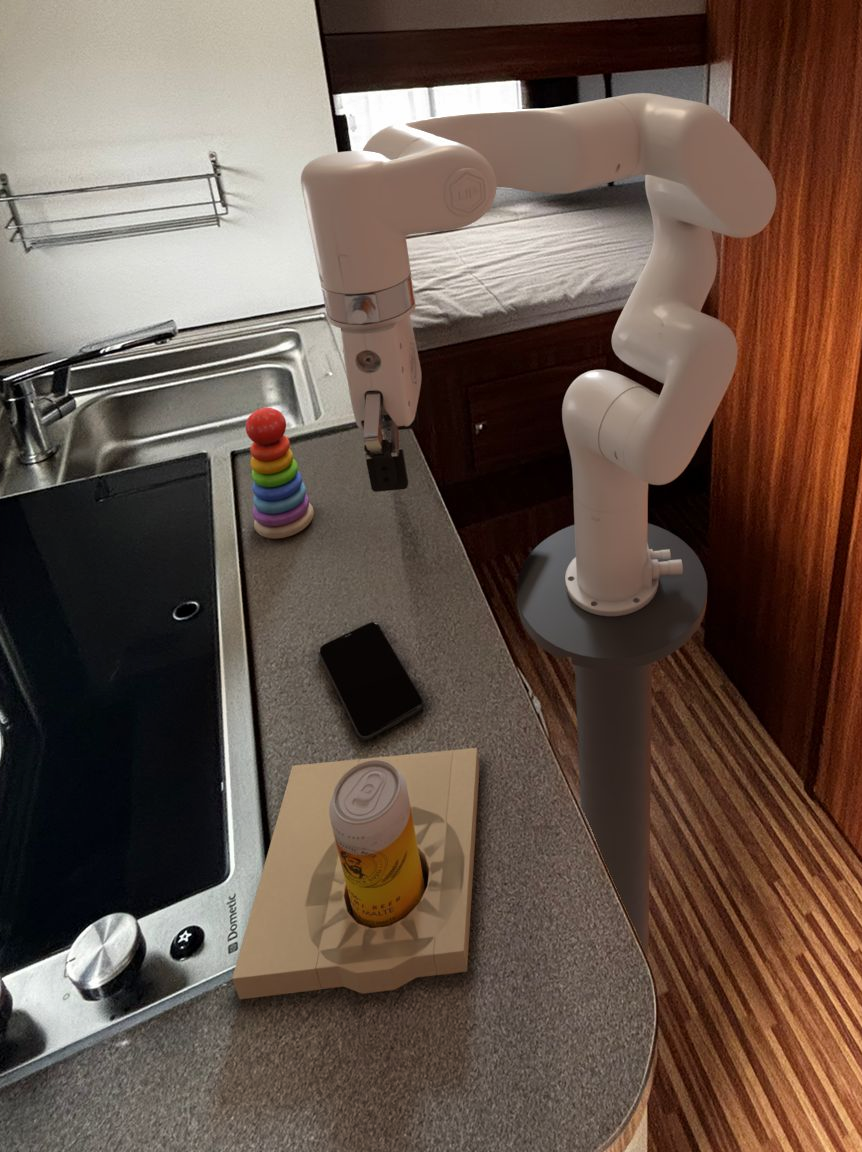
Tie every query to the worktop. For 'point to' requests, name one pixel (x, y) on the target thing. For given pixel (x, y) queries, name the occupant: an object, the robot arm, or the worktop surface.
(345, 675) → the smartphone
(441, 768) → the pad base
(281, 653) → the worktop surface
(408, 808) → the beer can
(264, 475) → the stacking toy
